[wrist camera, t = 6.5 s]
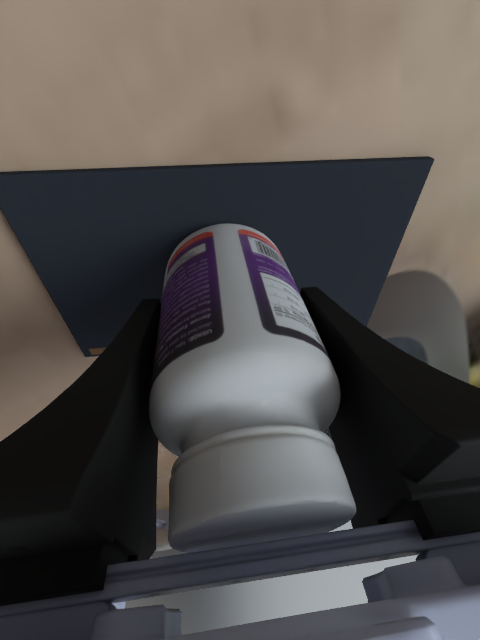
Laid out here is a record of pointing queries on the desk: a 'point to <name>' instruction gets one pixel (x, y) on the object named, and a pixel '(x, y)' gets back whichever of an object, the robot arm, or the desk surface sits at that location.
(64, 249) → the felt pad
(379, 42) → the desk surface
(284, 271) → the pill bottle
